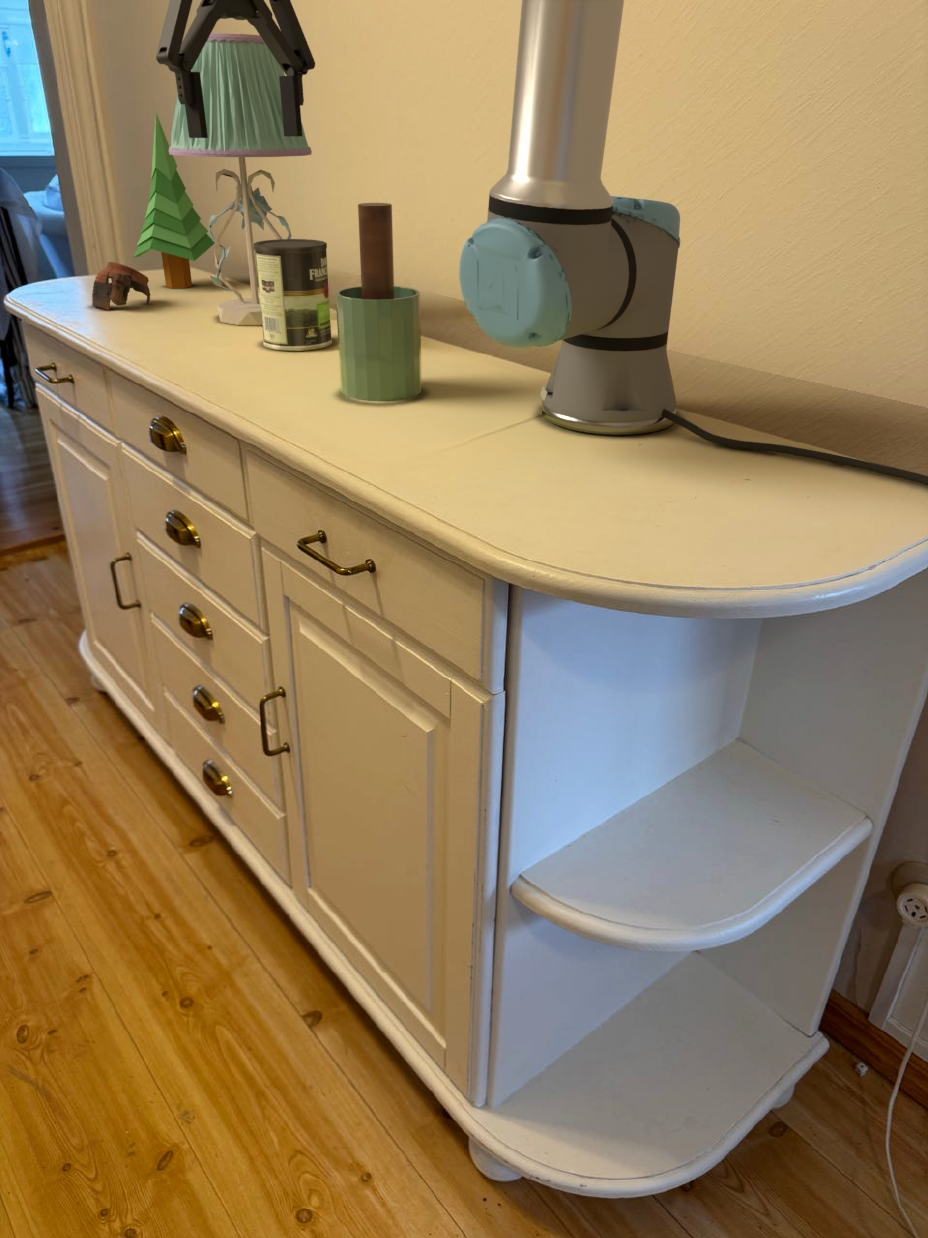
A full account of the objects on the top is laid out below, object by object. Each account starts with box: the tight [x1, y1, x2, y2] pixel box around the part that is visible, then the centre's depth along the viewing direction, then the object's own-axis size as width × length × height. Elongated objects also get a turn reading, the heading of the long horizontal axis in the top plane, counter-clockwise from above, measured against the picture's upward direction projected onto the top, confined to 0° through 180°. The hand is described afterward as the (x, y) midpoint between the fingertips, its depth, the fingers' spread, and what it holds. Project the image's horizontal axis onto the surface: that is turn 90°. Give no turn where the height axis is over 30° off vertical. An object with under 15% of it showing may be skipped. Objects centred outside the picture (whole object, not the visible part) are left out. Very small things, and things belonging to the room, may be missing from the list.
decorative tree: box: [132, 113, 216, 289], centre depth 174 cm, size 14×16×30 cm
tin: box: [335, 285, 423, 402], centre depth 112 cm, size 10×10×12 cm
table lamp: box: [169, 33, 313, 326], centre depth 145 cm, size 22×22×40 cm
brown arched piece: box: [91, 261, 151, 311], centre depth 161 cm, size 12×10×8 cm
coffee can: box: [253, 238, 333, 352], centre depth 135 cm, size 10×10×14 cm
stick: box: [357, 202, 395, 300], centre depth 109 cm, size 4×4×21 cm
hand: (247, 137), depth 111 cm, fingers open, 13 cm apart
